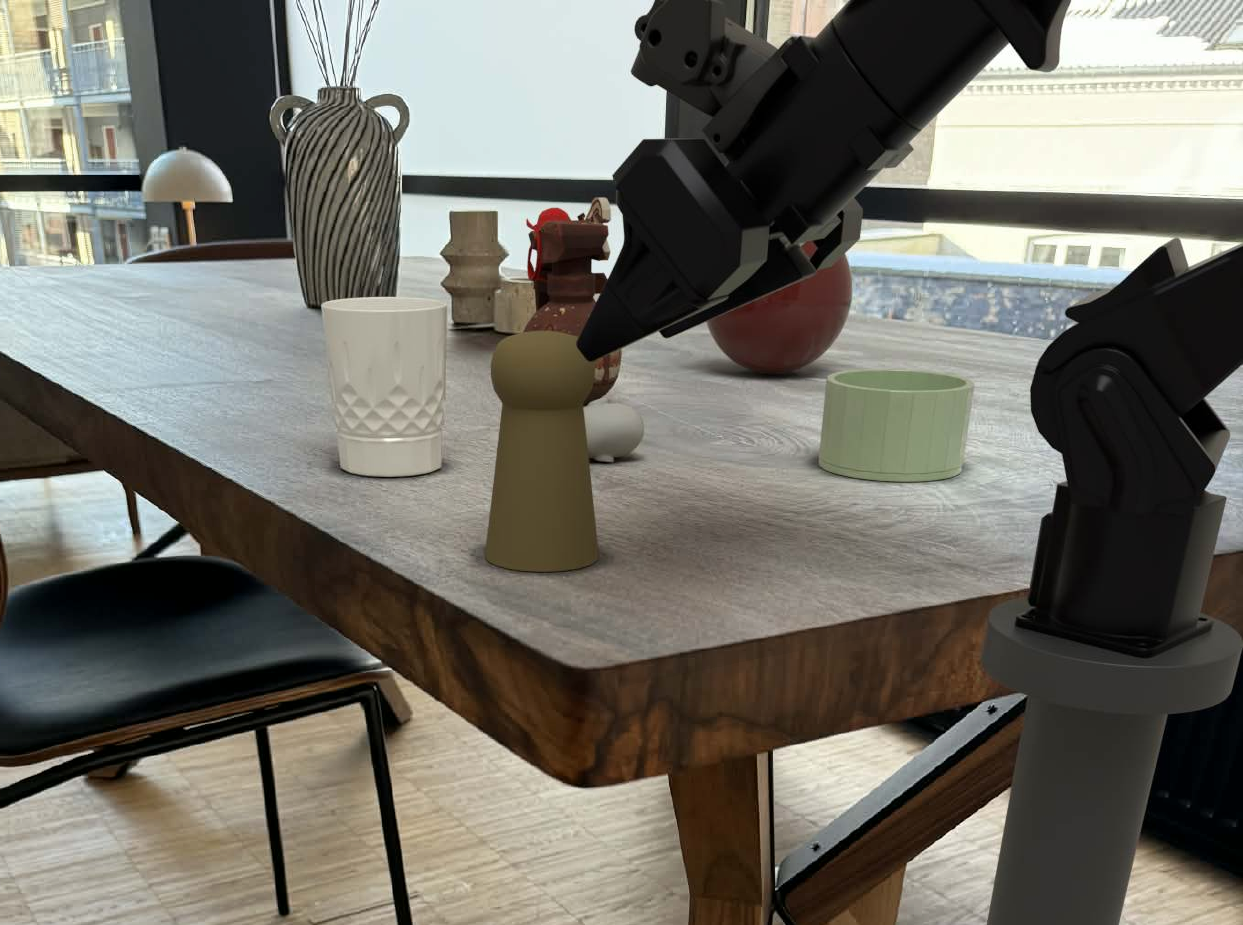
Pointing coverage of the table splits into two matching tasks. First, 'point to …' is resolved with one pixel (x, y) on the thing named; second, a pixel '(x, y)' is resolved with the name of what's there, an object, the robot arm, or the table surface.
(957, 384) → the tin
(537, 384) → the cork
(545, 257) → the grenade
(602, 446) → the pale two-lobed sculpture
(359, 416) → the white cup
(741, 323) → the round-bottom flask
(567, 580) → the table surface
